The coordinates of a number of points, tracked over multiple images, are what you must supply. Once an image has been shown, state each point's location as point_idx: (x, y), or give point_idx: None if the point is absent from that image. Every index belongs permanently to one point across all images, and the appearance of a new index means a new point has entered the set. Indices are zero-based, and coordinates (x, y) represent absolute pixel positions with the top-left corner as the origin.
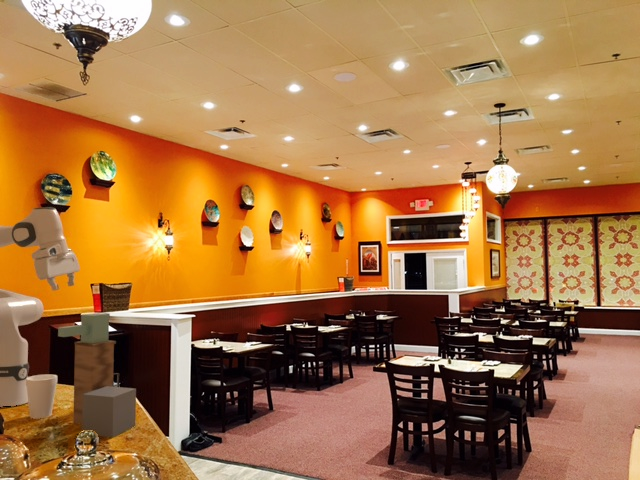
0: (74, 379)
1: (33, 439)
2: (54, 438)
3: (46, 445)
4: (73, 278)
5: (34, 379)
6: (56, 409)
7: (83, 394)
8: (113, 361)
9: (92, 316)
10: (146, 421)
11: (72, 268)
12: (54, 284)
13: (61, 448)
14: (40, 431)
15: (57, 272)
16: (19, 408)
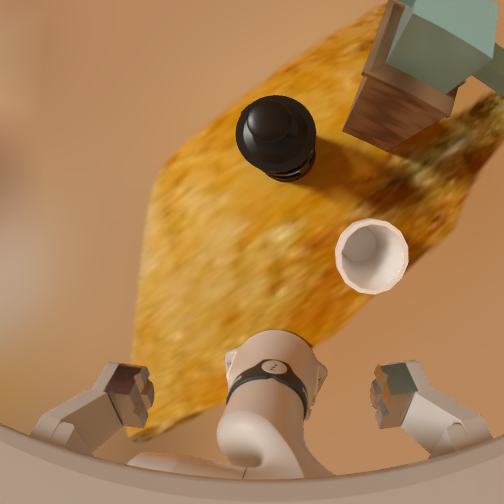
0: (412, 135)
1: (473, 169)
2: (463, 137)
3: (487, 133)
4: (84, 402)
5: (359, 284)
6: (308, 241)
7: (465, 80)
8: (266, 97)
9: (496, 7)
10: (346, 29)
11: (29, 482)
12: (441, 396)
13: (490, 105)
14: (440, 182)
15: (448, 494)
16: (312, 321)
